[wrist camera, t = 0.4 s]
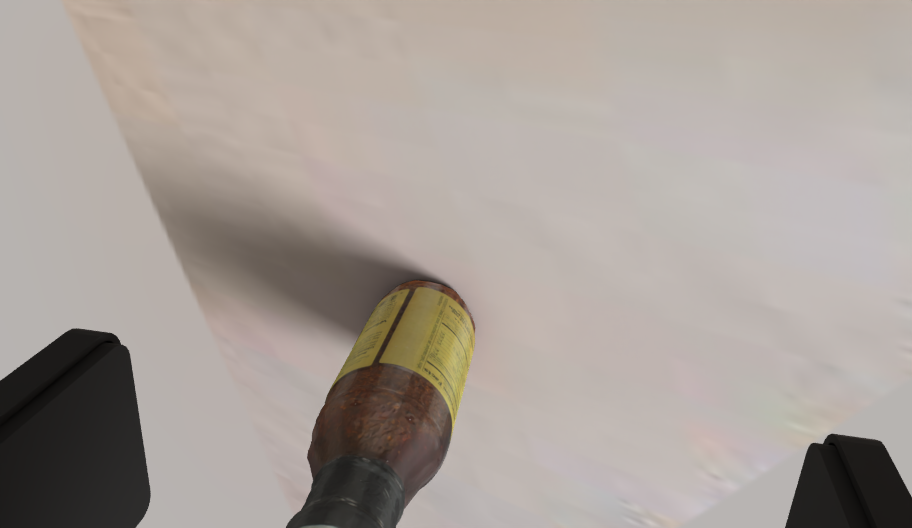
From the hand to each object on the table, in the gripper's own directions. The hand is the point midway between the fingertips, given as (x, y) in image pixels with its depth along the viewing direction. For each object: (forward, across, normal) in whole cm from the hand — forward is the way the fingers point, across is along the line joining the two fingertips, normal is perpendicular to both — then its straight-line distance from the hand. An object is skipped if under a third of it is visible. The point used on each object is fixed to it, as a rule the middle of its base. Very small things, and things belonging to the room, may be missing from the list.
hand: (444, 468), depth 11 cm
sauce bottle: (+31, +6, +15) cm, 35 cm away
